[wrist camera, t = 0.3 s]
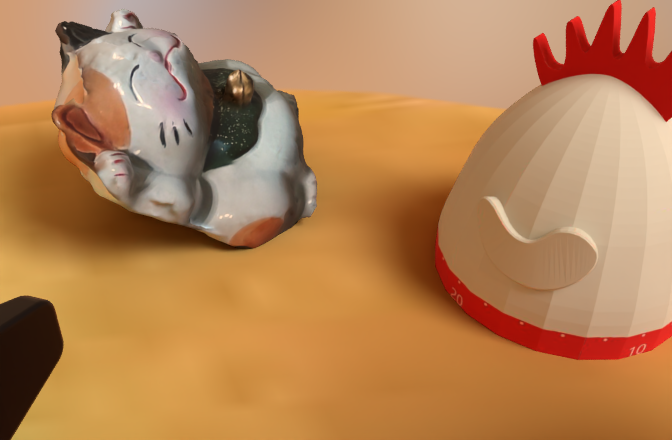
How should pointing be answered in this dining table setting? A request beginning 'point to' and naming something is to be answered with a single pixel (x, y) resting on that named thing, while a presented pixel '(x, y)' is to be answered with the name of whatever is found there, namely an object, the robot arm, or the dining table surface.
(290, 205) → the lucky cat figurine
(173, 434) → the dining table surface
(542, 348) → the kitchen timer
